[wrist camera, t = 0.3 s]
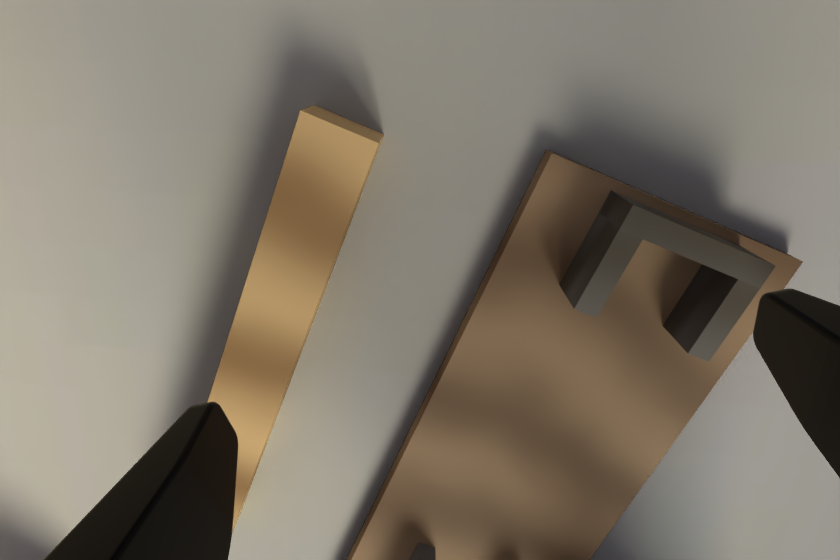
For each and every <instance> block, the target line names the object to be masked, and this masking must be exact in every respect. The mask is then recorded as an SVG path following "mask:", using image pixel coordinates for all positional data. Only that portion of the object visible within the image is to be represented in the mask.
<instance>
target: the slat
mask: <svg viewBox="0 0 840 560" xmlns="http://www.w3.org/2000/svg"><path fill="white" fill-rule="evenodd" d="M383 136H384V134H381V133H379V132H377V131H374V130H372V129H369V128H367V127H365V126H362V125H360V124H358V123H355V122H353V121H351V120H348V119H346V118H344V117H341V116H339V115H336V114H334V113H332V112H329V111H327V110H325V109H322V108H320V107H318V106H315V105H314V106H311V107H308V108H305V109H303V110H300V113H299V116H298V119H297V122H296V125H295V128H294V132H293V135H292V138H291V141H290V144H289V147H288V150H287V154H286V157H285V160H284V163H283V166H282V169H281V172H280V176H279V179H278V182H277V185H276V188H275V191H274V194H273V198H272V201H271V204H270V207H269V210H268V213H267V216H266V220H265V223H264V226H263V229H262V232H261V235H260V238H259V242H258V245H257V248H256V251H255V254H254V257H253V261H252V264H251V267H250V270H249V273H248V276H247V279H246V283H245V286H244V289H243V292H242V295H241V298H240V301H239V305H238V308H237V311H236V314H235V317H234V320H233V323H232V327H231V330H230V333H229V336H228V339H227V342H226V345H225V349H224V352H223V355H222V358H221V361H220V364H219V367H218V371H217V374H216V377H215V380H214V383H213V386H212V389H211V393H210V396H209V399H208V402H216V403H218V404H219V405H220V406H221V408H222V409H223V411H224V413H225V415H226V416H227V418H228V420H229V421H230V423H231V425H232V427H233V428H234V430H235V432H236V434H237V438H238V460H237V475H236V489H235V504H234V518H233V529H232V532H233V530H234V527H235V525H236V522H237V520H238V517H239V515H240V513H241V510H242V507H243V505H244V502H245V499H246V497H247V494H248V491H249V489H250V486H251V484H252V481H253V478H254V476H255V473H256V470H257V468H258V465H259V462H260V460H261V457H262V455H263V452H264V449H265V447H266V444H267V441H268V439H269V436H270V434H271V431H272V428H273V426H274V423H275V420H276V418H277V415H278V412H279V410H280V407H281V405H282V402H283V399H284V397H285V394H286V391H287V389H288V386H289V383H290V381H291V378H292V376H293V373H294V370H295V368H296V365H297V362H298V360H299V357H300V354H301V352H302V349H303V347H304V344H305V341H306V339H307V336H308V333H309V331H310V328H311V325H312V323H313V320H314V318H315V315H316V312H317V310H318V307H319V304H320V302H321V299H322V296H323V294H324V291H325V289H326V286H327V283H328V281H329V278H330V275H331V273H332V270H333V268H334V265H335V262H336V260H337V257H338V254H339V252H340V249H341V246H342V244H343V241H344V239H345V236H346V233H347V231H348V228H349V225H350V223H351V220H352V217H353V215H354V212H355V210H356V207H357V204H358V202H359V199H360V196H361V194H362V191H363V188H364V186H365V183H366V181H367V178H368V175H369V173H370V170H371V167H372V165H373V162H374V159H375V157H376V154H377V152H378V149H379V146H380V144H381V141H382V138H383Z"/></svg>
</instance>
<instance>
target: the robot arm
mask: <svg viewBox="0 0 840 560" xmlns="http://www.w3.org/2000/svg"><path fill="white" fill-rule="evenodd" d="M753 338H754V342H755V345H756V347H757V349H758V351H759V352H760V354H761V356H762V358H763V359H764V361H765V363H766V365H767V366H768V368H769V370H770V371H771V373H772V375H773V377H774V378H775V380H776V382H777V384H778V385H779V387H780V389H781V391H782V392H783V394H784V396H785V397H786V399H787V401H788V403H789V404H790V406H791V408H792V410H793V411H794V413H795V415H796V416H797V418H798V420H799V421H800V423H801V424H802V426H803V428H804V429H805V431H806V432H807V433H808V435H809V436H810V438H811V439H812V441H813V442H814V443H815V445H816V446H817V447H818V449H819V450H820V452H821V453H822V454H823V456H824V457H825V458H826V460H827V461H828V462H829V464H830V465H831V467H832V468H833V469H834V471H835V472H836V473H837V475H838V476H839V478H840V306H839V305H836V304H833V303H830V302H828V301H825V300H822V299H819V298H817V297H814V296H811V295H808V294H806V293H803V292H800V291H797V290H794V289H783V290H778V291H772V292H768V293H765V294H763V295H762V297H761V298H760V301H759V305H758V310H757V315H756V320H755V325H754V330H753ZM237 460H238V438H237V434H236V432H235V430H234V428H233V427H232V425H231V423H230V421H229V420H228V418H227V416H226V415H225V413H224V411H223V409H222V408H221V406H220V405H219V404H218V403H216V402H207V403H202V404H197V405H193V406H191V407H190V408H189V409H187V410H186V411H185V412H184V414H183V415H182V416H181V417H180V418H179V419H178V420H177V421H176V422H175V423H174V424H173V425H172V426H171V427H170V428H169V429H168V430H167V431H166V432H165V433H164V434H163V436H162V437H161V438H160V439H159V440H158V441H157V442H156V443H155V444H154V445H153V446H152V447H151V448H150V449H149V450H148V451H147V452H146V453H145V454H144V455H143V456H142V457H141V459H140V460H139V461H138V462H137V463H136V464H135V465H134V466H133V467H132V468H131V469H130V470H129V471H128V472H127V473H126V474H125V475H124V476H123V477H122V478H121V479H120V481H119V482H118V483H117V484H116V485H115V486H114V487H113V488H112V489H111V490H110V491H109V492H108V493H107V494H106V495H105V496H104V497H103V498H102V499H101V500H100V501H99V503H98V504H97V505H96V506H95V507H94V508H93V509H92V510H91V511H90V512H89V513H88V514H87V515H86V516H85V517H84V518H83V519H82V520H81V521H80V522H79V523H78V524H77V526H76V527H75V528H74V529H73V530H72V531H71V532H70V533H69V534H68V535H67V536H66V537H65V538H64V539H63V540H62V541H61V542H60V543H59V544H58V545H57V546H56V547H55V549H54V550H53V551H52V552H51V553H50V554H49V555H48V556H47V557H46V558H45V559H44V560H228V555H229V549H230V543H231V537H232V529H233V518H234V504H235V489H236V475H237Z"/></svg>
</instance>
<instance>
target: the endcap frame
mask: <svg viewBox="0 0 840 560" xmlns="http://www.w3.org/2000/svg"><path fill="white" fill-rule="evenodd" d="M801 264H802V261H800V260H798V259H796V258H794V257H792V256H791V255H789V254H786V253H784V252H782V251H779V250H777V249H775V248H773V247H770V246H768V245H766V244H763V243H761V242H759V241H756V240H754V239H752V238H749V237H747V236H745V235H742V234H740V233H738V232H736V231H733V230H731V229H729V228H726V227H724V226H722V225H719V224H717V223H715V222H712V221H710V220H708V219H706V218H703V217H701V216H699V215H696V214H694V213H692V212H689V211H687V210H685V209H682V208H680V207H678V206H676V205H673V204H671V203H669V202H666V201H664V200H662V199H659V198H657V197H655V196H652V195H650V194H648V193H646V192H643V191H641V190H639V189H636V188H634V187H632V186H629V185H627V184H625V183H622V182H620V181H618V180H616V179H613V178H611V177H609V176H606V175H604V174H602V173H599V172H597V171H595V170H592V169H590V168H588V167H585V166H583V165H581V164H579V163H576V162H574V161H572V160H569V159H567V158H565V157H562V156H560V155H558V154H555V153H553V152H551V151H549V150H546V152H545V154H544V156H543V158H542V160H541V162H540V164H539V166H538V168H537V170H536V172H535V174H534V176H533V178H532V180H531V183H530V185H529V187H528V189H527V191H526V193H525V195H524V197H523V199H522V201H521V203H520V205H519V207H518V209H517V211H516V213H515V215H514V217H513V219H512V221H511V223H510V225H509V228H508V230H507V232H506V234H505V236H504V238H503V240H502V242H501V244H500V246H499V248H498V250H497V252H496V254H495V256H494V258H493V260H492V262H491V264H490V266H489V268H488V271H487V273H486V275H485V277H484V279H483V281H482V283H481V285H480V287H479V289H478V291H477V293H476V295H475V297H474V299H473V301H472V303H471V305H470V307H469V309H468V311H467V314H466V316H465V318H464V320H463V322H462V324H461V326H460V328H459V330H458V332H457V334H456V336H455V338H454V340H453V342H452V344H451V346H450V348H449V350H448V352H447V354H446V357H445V359H444V361H443V363H442V365H441V367H440V369H439V371H438V373H437V375H436V377H435V379H434V381H433V383H432V385H431V387H430V389H429V391H428V393H427V395H426V397H425V400H424V402H423V404H422V406H421V408H420V410H419V412H418V414H417V416H416V418H415V420H414V422H413V424H412V426H411V428H410V430H409V432H408V434H407V436H406V438H405V440H404V442H403V445H402V447H401V449H400V451H399V453H398V455H397V457H396V459H395V461H394V463H393V465H392V467H391V469H390V471H389V473H388V475H387V477H386V479H385V481H384V483H383V485H382V488H381V490H380V492H379V494H378V496H377V498H376V500H375V502H374V504H373V506H372V508H371V510H370V512H369V514H368V516H367V518H366V520H365V522H364V524H363V526H362V528H361V531H360V533H359V535H358V537H357V539H356V541H355V543H354V545H353V547H352V549H351V551H350V553H349V555H348V557H347V559H346V560H590V558H591V557H592V555H593V554H594V553H595V551H596V550H597V548H598V547H599V546H600V544H601V543H602V541H603V540H604V539H605V537H606V536H607V534H608V533H609V532H610V530H611V529H612V527H613V526H614V525H615V523H616V522H617V521H618V519H619V518H620V516H621V515H622V514H623V512H624V511H625V509H626V508H627V507H628V505H629V504H630V502H631V501H632V500H633V498H634V497H635V495H636V494H637V493H638V491H639V490H640V488H641V487H642V486H643V484H644V483H645V481H646V480H647V479H648V477H649V476H650V474H651V473H652V472H653V470H654V469H655V468H656V466H657V465H658V463H659V462H660V461H661V459H662V458H663V456H664V455H665V454H666V452H667V451H668V449H669V448H670V447H671V445H672V444H673V442H674V441H675V440H676V438H677V437H678V435H679V434H680V433H681V431H682V430H683V428H684V427H685V426H686V424H687V423H688V421H689V420H690V419H691V417H692V416H693V415H694V413H695V412H696V410H697V409H698V408H699V406H700V405H701V403H702V402H703V401H704V399H705V398H706V396H707V395H708V394H709V392H710V391H711V389H712V388H713V387H714V385H715V384H716V382H717V381H718V380H719V378H720V377H721V375H722V374H723V373H724V371H725V370H726V368H727V367H728V366H729V364H730V363H731V362H732V360H733V359H734V357H735V356H736V355H737V353H738V352H739V350H740V349H741V348H742V346H743V345H744V343H745V342H746V341H747V339H748V338H749V336H750V335H751V334H752V332H753V330H754V325H755V320H756V315H757V310H758V305H759V301H760V298H761V297H762V295H763V294H765V293H768V292H772V291H778V290H783V289H784V288H785V286H786V285H787V283H788V282H789V281H790V279H791V278H792V276H793V275H794V274H795V272H796V271H797V269H798V268H799V267H800V265H801Z"/></svg>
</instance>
